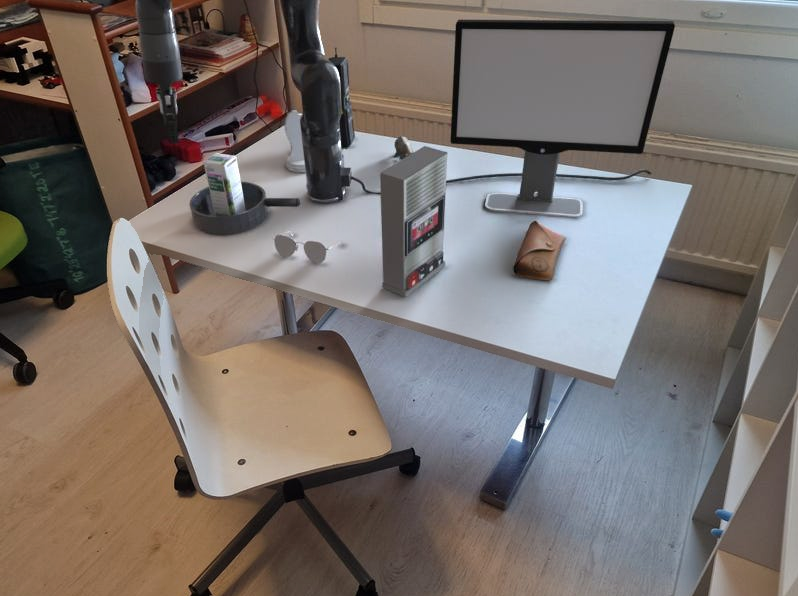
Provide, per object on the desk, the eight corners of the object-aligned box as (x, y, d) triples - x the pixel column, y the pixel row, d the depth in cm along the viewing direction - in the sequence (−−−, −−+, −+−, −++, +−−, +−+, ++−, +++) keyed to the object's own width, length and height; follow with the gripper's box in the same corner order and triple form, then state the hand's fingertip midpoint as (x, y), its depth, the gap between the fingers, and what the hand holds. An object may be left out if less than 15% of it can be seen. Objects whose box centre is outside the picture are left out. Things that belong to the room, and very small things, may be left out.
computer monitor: (446, 207, 153) (454, 24, 126) (451, 191, 159) (460, 13, 132) (626, 221, 143) (676, 27, 116) (625, 203, 149) (672, 14, 122)
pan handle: (302, 204, 152) (301, 196, 151) (300, 208, 151) (299, 200, 149) (265, 204, 153) (264, 196, 152) (263, 208, 152) (262, 200, 150)
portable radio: (350, 149, 181) (344, 56, 164) (329, 148, 182) (322, 56, 165) (355, 138, 187) (350, 47, 170) (335, 137, 188) (328, 47, 171)
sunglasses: (272, 254, 141) (271, 233, 138) (291, 241, 147) (290, 220, 145) (328, 265, 136) (328, 244, 134) (345, 251, 143) (345, 230, 140)
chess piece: (326, 167, 173) (321, 112, 163) (292, 175, 170) (285, 119, 161) (315, 154, 180) (309, 100, 170) (282, 161, 177) (274, 107, 168)
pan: (275, 198, 161) (272, 181, 158) (258, 236, 148) (255, 217, 144) (206, 198, 163) (202, 181, 160) (184, 235, 150) (179, 216, 147)
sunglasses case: (555, 280, 127) (541, 253, 124) (522, 290, 131) (508, 264, 128) (567, 235, 139) (555, 210, 136) (536, 246, 143) (524, 221, 140)
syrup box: (214, 219, 154) (201, 162, 144) (227, 207, 158) (215, 151, 148) (235, 222, 152) (223, 164, 143) (247, 210, 156) (236, 154, 147)
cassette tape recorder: (406, 299, 126) (406, 181, 109) (382, 288, 129) (378, 172, 112) (446, 267, 133) (451, 153, 117) (422, 258, 136) (424, 145, 120)
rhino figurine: (404, 176, 166) (404, 154, 162) (392, 155, 176) (392, 133, 172) (419, 174, 167) (419, 152, 163) (406, 153, 177) (406, 131, 173)
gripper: (182, 64, 123) (192, 146, 133) (177, 45, 134) (186, 123, 144) (142, 65, 121) (156, 149, 132) (140, 46, 132) (152, 125, 142)
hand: (172, 135), depth 138 cm, fingers open, 8 cm apart
